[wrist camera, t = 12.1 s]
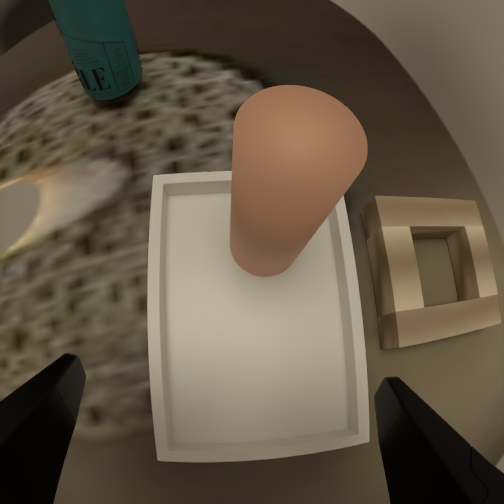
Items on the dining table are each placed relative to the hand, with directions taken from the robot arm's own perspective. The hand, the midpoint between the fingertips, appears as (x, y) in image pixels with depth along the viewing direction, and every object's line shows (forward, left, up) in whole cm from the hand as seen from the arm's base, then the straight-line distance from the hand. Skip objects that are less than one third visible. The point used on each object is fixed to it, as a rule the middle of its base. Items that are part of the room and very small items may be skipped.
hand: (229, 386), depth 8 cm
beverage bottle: (+27, +11, -14) cm, 32 cm away
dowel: (+8, -3, -13) cm, 16 cm away
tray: (+4, -2, -14) cm, 14 cm away
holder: (+6, -17, -14) cm, 22 cm away
